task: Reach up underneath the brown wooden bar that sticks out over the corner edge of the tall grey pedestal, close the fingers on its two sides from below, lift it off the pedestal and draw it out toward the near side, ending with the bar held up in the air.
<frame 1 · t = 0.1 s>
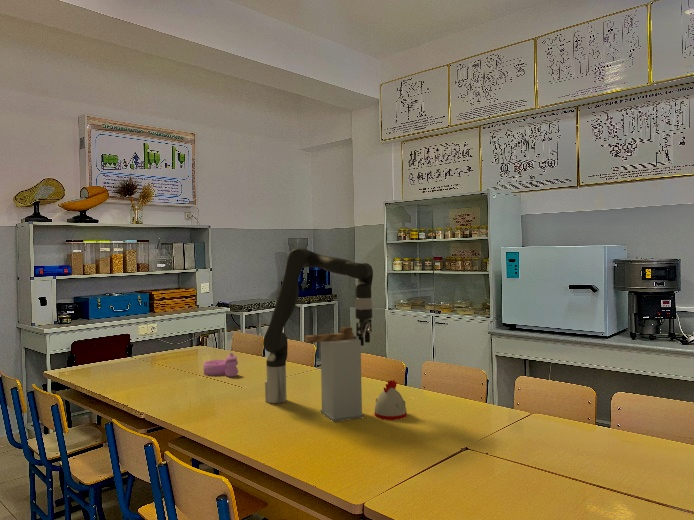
hand: (364, 343, 242), 29 cm above the table, tool pointing down, fingers open, 8 cm apart
pink rounded piece: (222, 374, 320), on the table
white chicken figure: (390, 415, 233), on the table
pedestal: (341, 415, 234), on the table
brown wooden bar: (329, 340, 232), point 33 cm above the table, touching pedestal
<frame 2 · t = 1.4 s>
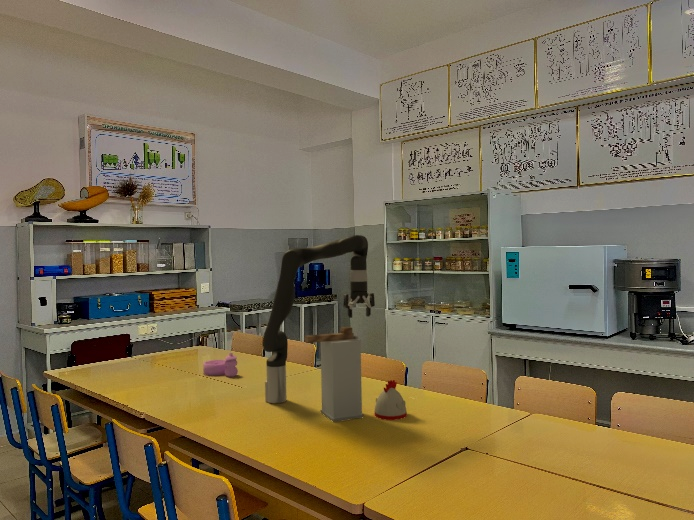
hand: (359, 317, 238), 42 cm above the table, tool pointing down, fingers open, 8 cm apart
nothing on the table moved.
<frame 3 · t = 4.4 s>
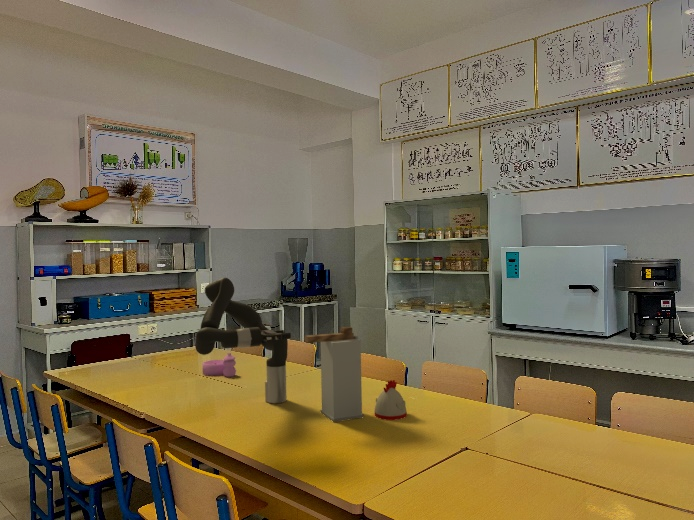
hand: (287, 334, 219), 38 cm above the table, tool horizontal, fingers open, 8 cm apart
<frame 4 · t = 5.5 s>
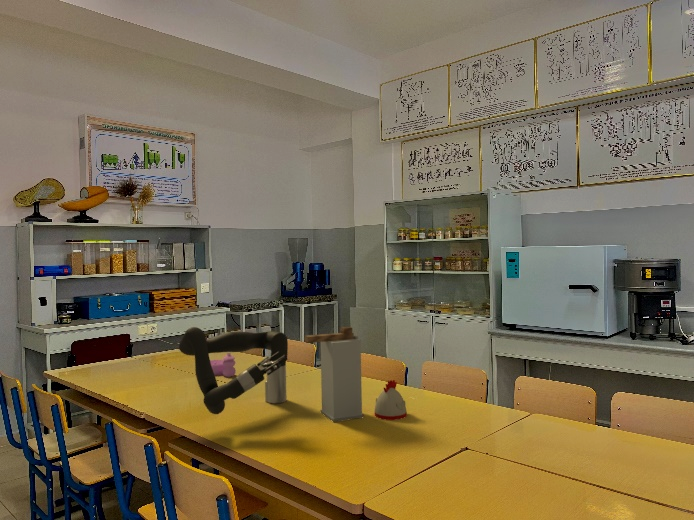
hand: (283, 355, 224), 28 cm above the table, tool pointing upward, fingers open, 8 cm apart
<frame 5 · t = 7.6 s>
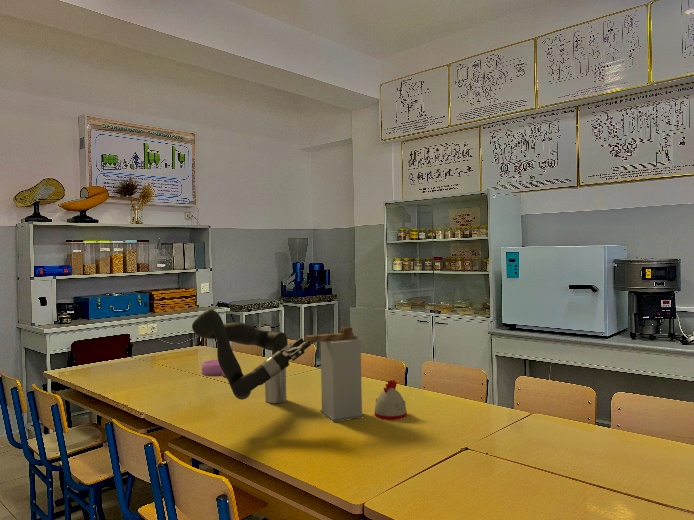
hand: (306, 341, 227), 34 cm above the table, tool pointing upward, fingers open, 8 cm apart
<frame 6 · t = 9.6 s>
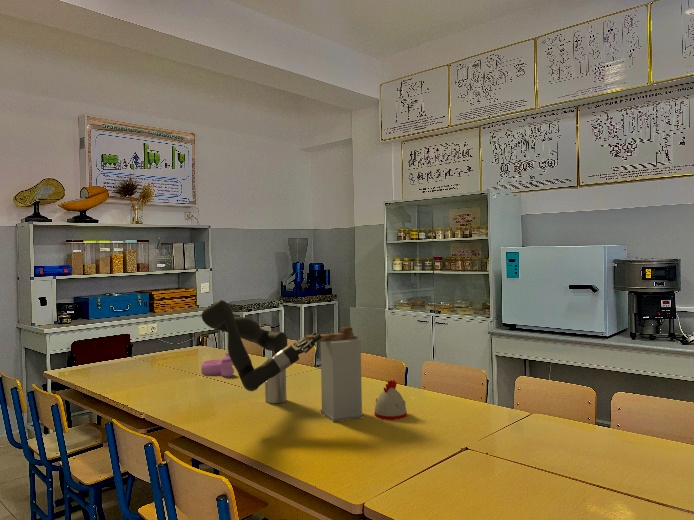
hand: (318, 334, 230), 36 cm above the table, tool pointing upward, fingers closed on brown wooden bar, 4 cm apart
brown wooden bar: (329, 340, 232), point 33 cm above the table, touching gripper, pedestal
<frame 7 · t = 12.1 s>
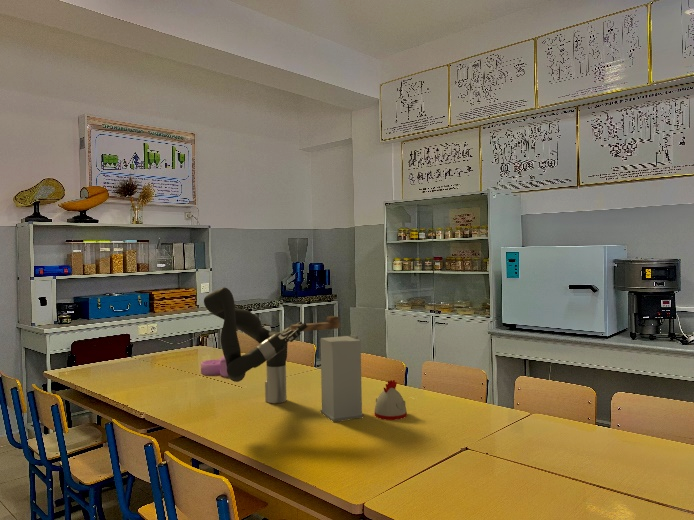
hand: (304, 324, 227), 41 cm above the table, tool pointing upward, fingers closed on brown wooden bar, 4 cm apart
brown wooden bar: (315, 329, 229), point 38 cm above the table, touching gripper
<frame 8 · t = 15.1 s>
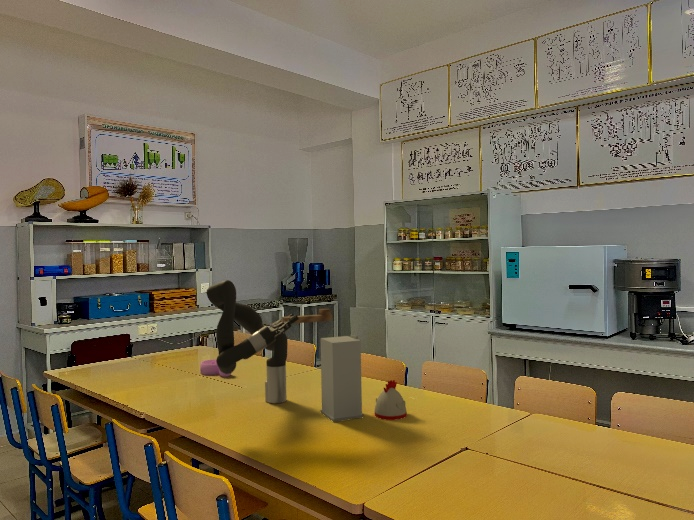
hand: (295, 316, 226), 44 cm above the table, tool pointing upward, fingers closed on brown wooden bar, 4 cm apart
brown wooden bar: (307, 321, 228), point 42 cm above the table, touching gripper
at the end: brown wooden bar moved 13.2 cm from its start; brown wooden bar point 41.6 cm above the table; the gripper is holding brown wooden bar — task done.
